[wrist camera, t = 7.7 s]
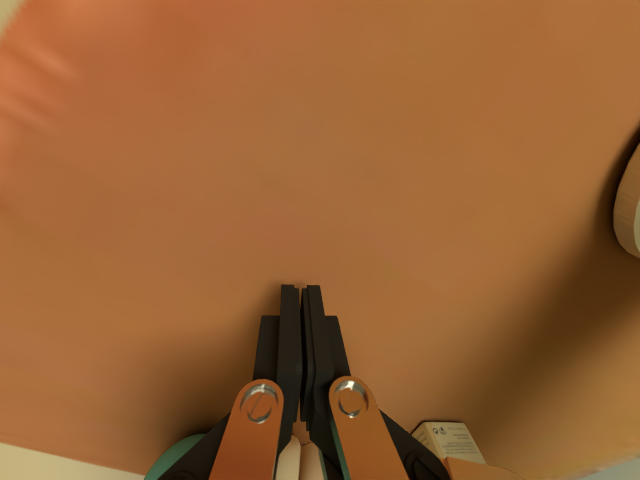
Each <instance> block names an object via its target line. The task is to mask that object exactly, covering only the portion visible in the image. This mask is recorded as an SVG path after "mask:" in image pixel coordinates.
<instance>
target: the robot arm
mask: <svg viewBox="0 0 640 480" xmlns="http://www.w3.org/2000/svg"><path fill="white" fill-rule="evenodd" d="M613 217H614V230H615V233H616V236H617V239H618V242H619V243H620V244H621V246H622V247H623V248H624V249H625V250H626V251H627V252H628V253H630V254H632V255H634V256H636V257H638V258H640V142H639V144H638V146H637V147H636V149H635V151H634V153H633V155H632V156H631V158H630V160H629V162H628V164H627V166H626V169H625V171H624V174H623V176H622V179H621V181H620V184H619V186H618V190H617V194H616V199H615V204H614V209H613ZM299 396H300V420H301V422H304V421H306V431H309V435H310V440H311V441H312V442H313V443H314V444H315V445H316V446H317V447H318V454H319V458H320V463H321V468H322V473H323V478H324V480H524V479H523V478H522V477H520V476H519V475H518V474H516V473H515V472H512V471H510V470H508V469H504V468H499V467H495V466H490V465H485V464H481V463H476V462H472V461H467V460H462V459H458V458H453V457H448V456H447V457H446V458H445V459H444V458H439V457H437V456H436V455H435V454H434V453H433V452H432V451H430V450H429V449H428V448H427V447H425V446H424V445H423V444H422V443H420V442H419V441H418V440H417V439H415V438H414V437H413V436H412V435H411V434H409V433H408V432H407V431H406V430H404V429H403V428H402V427H401V426H399V425H398V424H397V423H396V422H394V421H393V420H392V419H391V418H389V417H388V416H387V415H386V414H385V413H383V412H382V411H381V410H380V409H378V406H377V404H376V402H375V399H374V397H373V395H372V393H371V391H370V389H369V388H368V386H367V385H366V384H365V383H364V382H363V381H361V380H360V379H358V378H356V377H352V376H351V374H350V370H349V365H348V361H347V357H346V352H345V348H344V344H343V339H342V335H341V330H340V326H339V322H338V318H337V316H325V313H324V308H323V302H322V296H321V290H320V286H319V285H307V288H302V295H301V305H300V304H299V288H294V285H282V287H281V307H280V316H262V317H261V323H260V330H259V338H258V345H257V352H256V359H255V366H254V373H253V380H252V382H250V383H249V384H247V385H246V386H244V387H243V389H242V390H241V391H240V392H239V394H238V396H237V398H236V400H235V403H234V406H233V409H232V411H231V412H230V413H229V414H228V415H227V416H225V417H224V418H223V419H222V420H221V421H220V422H219V423H218V424H217V425H216V426H214V427H213V428H212V429H211V430H210V431H209V432H208V433H207V434H206V435H205V436H204V437H202V438H201V439H200V440H199V441H198V442H197V443H196V444H195V445H194V446H193V447H192V448H190V449H189V450H188V451H187V452H186V453H185V454H184V455H183V456H182V457H181V458H180V459H178V460H177V461H176V462H175V463H174V464H173V465H172V466H171V467H170V468H169V469H168V470H166V471H165V472H164V473H163V474H162V475H161V476H160V477H159V478H158V479H157V480H276V477H277V470H278V463H279V457H280V454H281V452H282V451H283V450H284V448H285V447H286V446H287V445H288V443H289V442H290V441H291V435H292V426H293V422H296V419H297V411H298V403H299Z"/></svg>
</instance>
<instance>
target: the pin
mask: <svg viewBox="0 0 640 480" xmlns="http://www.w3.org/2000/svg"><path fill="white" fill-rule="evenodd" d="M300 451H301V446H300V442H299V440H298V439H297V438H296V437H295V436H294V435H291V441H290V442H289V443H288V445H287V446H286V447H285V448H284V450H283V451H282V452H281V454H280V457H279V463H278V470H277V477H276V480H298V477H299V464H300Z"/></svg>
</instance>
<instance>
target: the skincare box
mask: <svg viewBox="0 0 640 480" xmlns="http://www.w3.org/2000/svg"><path fill="white" fill-rule="evenodd" d="M412 436H413V437H414V438H415V439H417V440H418V441H419V442H420V443H422V444H423V445H424V446H425V447H427V448H428V449H429V450H430V451H432V452H433V453H434V454H435V455H436V456H437V457H439V458H444V459H445V458H446V457H447V456H448V457H453V458H458V459H462V460H467V461H472V462H476V463H481V464H485V465H487V463H486V461H485V460H484V458H483V456H482V454H481V452H480V451H479V449H478V447H477V445H476V443H475V441H474V440H473V438H472V436H471V434H470V432H469V431H468V429H467V427H466V425H465V424H464V423H455V422H424V423H422V424H421V425H420V426H419V427H418V428H417V429H416V430H415V431H414V432H413V434H412Z"/></svg>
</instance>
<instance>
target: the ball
mask: <svg viewBox="0 0 640 480" xmlns="http://www.w3.org/2000/svg"><path fill="white" fill-rule="evenodd" d="M205 435H206V434H196V435H192V436H189V437H187V438H184V439H182V440H181V441H179V442H177V443H176V444H174V445H173V446H172V447H170V448H169V449H168V450H167V451H165V452H164V453H163V454H162V455H161V456H160V458H159V459H158V460H157V461H156V462H155V463H154V465H153V466H152V467H151V469H150V470H149V471H148V473H147V475H146V476H145V478H144V480H157V479H158V478H159V477H160V476H161V475H162V474H163V473H164V472H165V471H166V470H168V469H169V468H170V467H171V466H172V465H173V464H174V463H175V462H176V461H177V460H178V459H180V458H181V457H182V456H183V455H184V454H185V453H186V452H187V451H188V450H189V449H190V448H192V447H193V446H194V445H195V444H196V443H197V442H198V441H199V440H200V439H201V438H202V437H204V436H205Z"/></svg>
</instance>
